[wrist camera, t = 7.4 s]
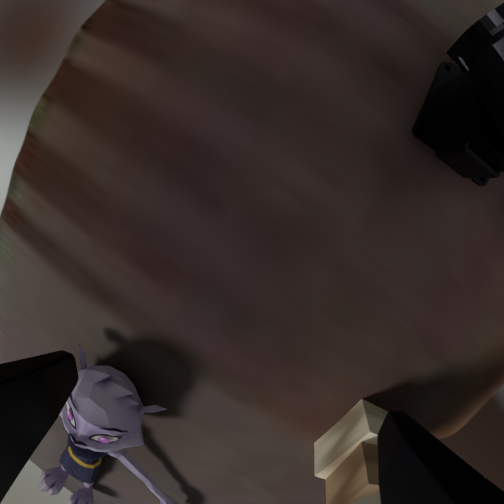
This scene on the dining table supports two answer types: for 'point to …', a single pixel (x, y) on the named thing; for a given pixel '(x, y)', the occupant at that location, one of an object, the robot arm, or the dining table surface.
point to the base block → (347, 436)
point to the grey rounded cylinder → (369, 499)
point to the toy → (100, 431)
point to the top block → (354, 476)
